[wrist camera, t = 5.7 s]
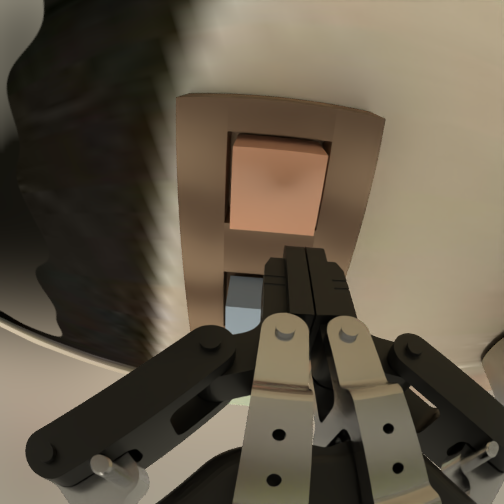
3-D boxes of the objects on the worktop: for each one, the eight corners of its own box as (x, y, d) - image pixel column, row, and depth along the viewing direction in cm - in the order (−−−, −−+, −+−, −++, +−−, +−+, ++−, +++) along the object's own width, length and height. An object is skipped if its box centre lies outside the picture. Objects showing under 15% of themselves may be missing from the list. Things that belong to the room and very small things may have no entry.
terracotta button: (307, 211, 20) (313, 236, 17) (235, 205, 20) (229, 228, 17) (318, 141, 17) (328, 155, 14) (238, 134, 17) (232, 146, 14)
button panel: (299, 374, 34) (300, 394, 31) (202, 366, 34) (198, 387, 31) (369, 111, 17) (385, 118, 14) (189, 93, 17) (176, 97, 14)
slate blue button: (288, 325, 24) (289, 355, 22) (229, 320, 25) (225, 350, 22) (297, 280, 22) (301, 311, 19) (230, 275, 22) (225, 306, 19)
